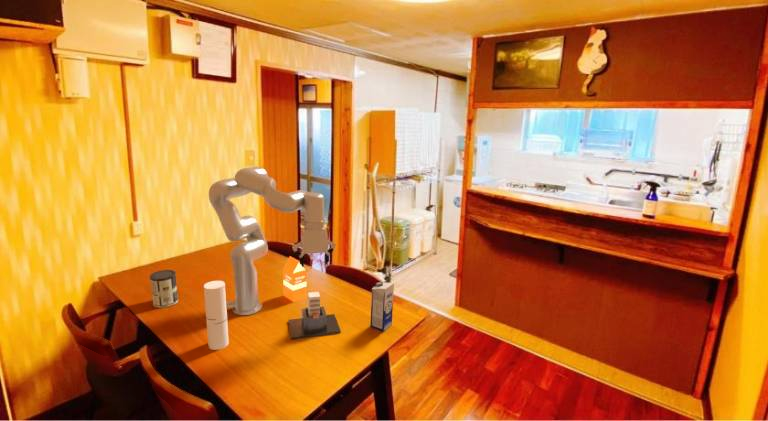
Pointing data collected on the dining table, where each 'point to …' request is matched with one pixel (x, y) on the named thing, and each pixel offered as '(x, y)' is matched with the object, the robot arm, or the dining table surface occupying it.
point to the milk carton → (382, 306)
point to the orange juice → (294, 280)
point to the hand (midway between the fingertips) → (314, 264)
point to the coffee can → (164, 288)
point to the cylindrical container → (216, 314)
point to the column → (313, 303)
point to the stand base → (313, 325)
